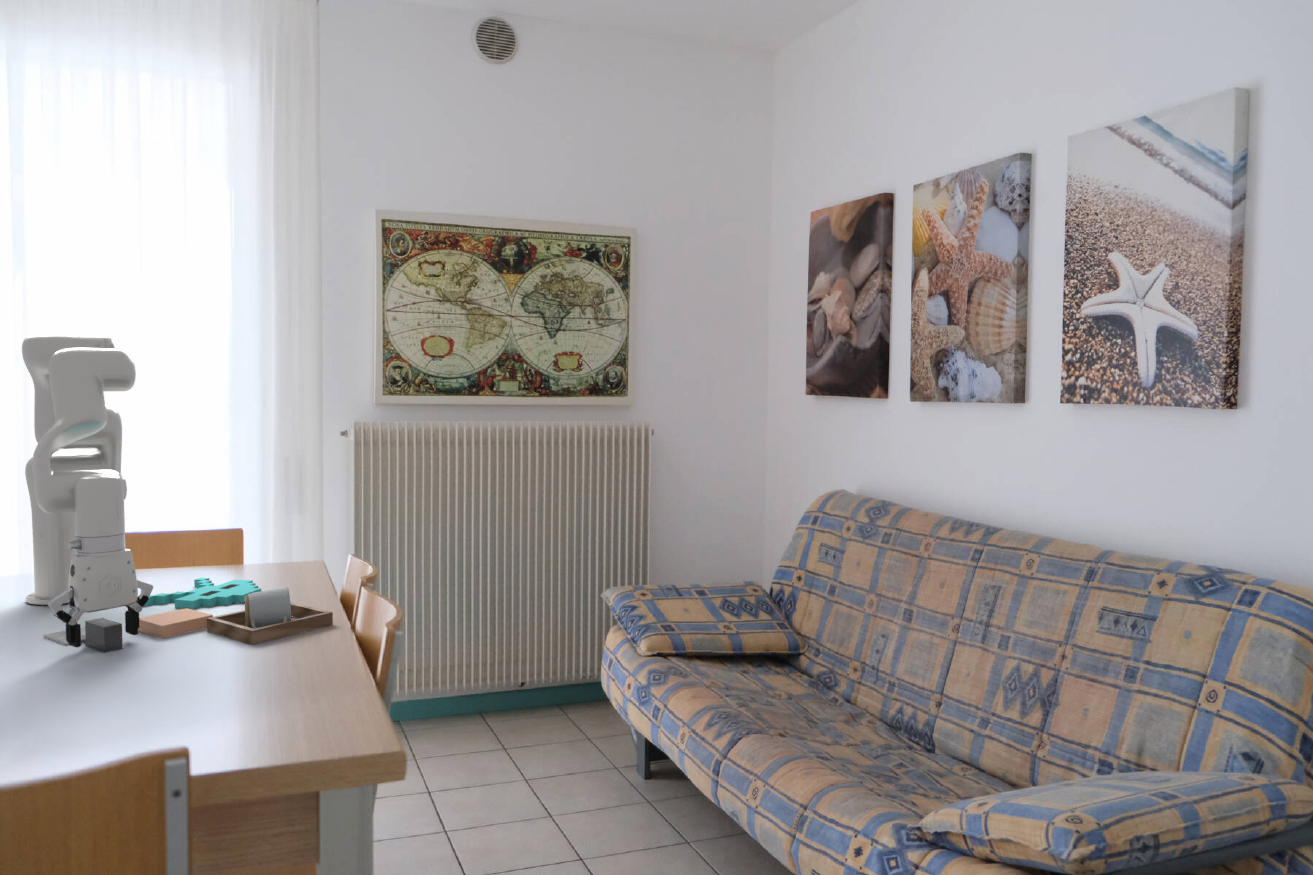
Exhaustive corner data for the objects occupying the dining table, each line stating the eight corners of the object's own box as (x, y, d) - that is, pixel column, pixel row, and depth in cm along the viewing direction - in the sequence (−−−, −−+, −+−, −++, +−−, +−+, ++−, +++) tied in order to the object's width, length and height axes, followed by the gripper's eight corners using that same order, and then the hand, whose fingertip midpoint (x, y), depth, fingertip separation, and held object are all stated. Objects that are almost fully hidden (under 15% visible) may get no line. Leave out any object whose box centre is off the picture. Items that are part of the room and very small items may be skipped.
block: (135, 618, 181) (161, 625, 176) (186, 608, 189) (212, 614, 184) (136, 632, 181) (162, 639, 176) (187, 621, 190) (213, 628, 185)
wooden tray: (206, 631, 181) (206, 618, 181) (287, 613, 195) (286, 601, 195) (252, 644, 172) (252, 630, 172) (332, 624, 186) (332, 612, 186)
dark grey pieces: (134, 646, 171) (133, 621, 171) (92, 655, 165) (92, 629, 165) (84, 629, 182) (83, 605, 181) (43, 637, 176) (42, 613, 176)
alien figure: (137, 607, 200) (222, 613, 196) (137, 597, 200) (222, 602, 196) (201, 587, 220) (279, 591, 216) (200, 577, 220) (279, 581, 216)
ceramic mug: (244, 626, 185) (243, 587, 184) (289, 621, 188) (288, 583, 188) (246, 641, 175) (245, 600, 174) (294, 636, 179) (293, 595, 178)
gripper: (57, 554, 160) (60, 654, 161) (160, 539, 174) (163, 632, 175) (37, 549, 164) (41, 647, 165) (140, 535, 178) (142, 626, 179)
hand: (103, 639), depth 170 cm, fingers open, 9 cm apart
